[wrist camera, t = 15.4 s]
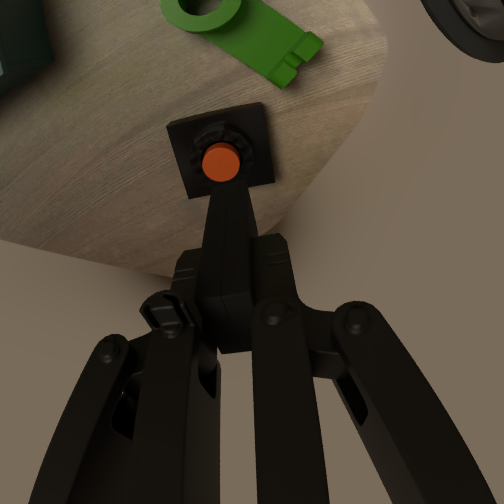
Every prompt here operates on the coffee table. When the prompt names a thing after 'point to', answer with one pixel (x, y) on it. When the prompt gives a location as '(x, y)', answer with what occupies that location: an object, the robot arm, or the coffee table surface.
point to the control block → (222, 131)
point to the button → (221, 162)
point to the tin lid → (2, 62)
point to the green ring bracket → (250, 35)
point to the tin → (23, 41)
